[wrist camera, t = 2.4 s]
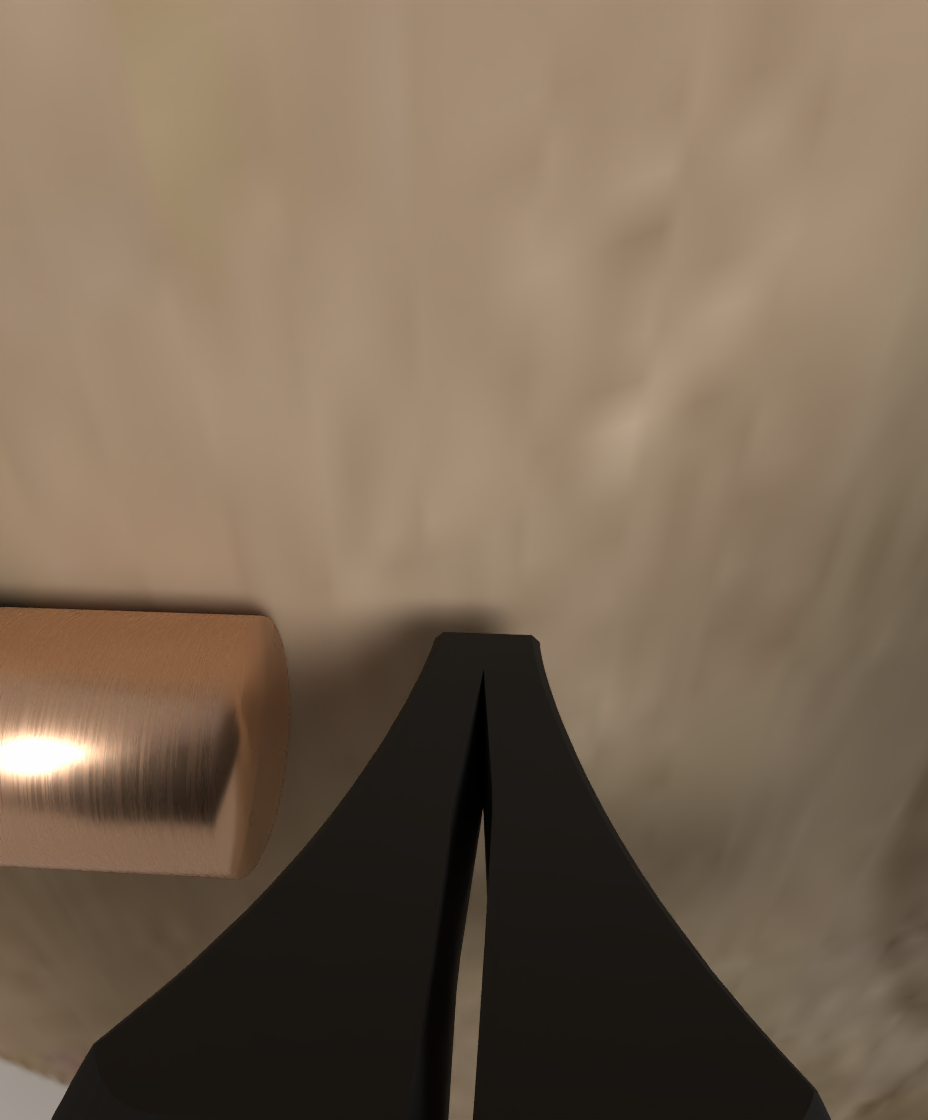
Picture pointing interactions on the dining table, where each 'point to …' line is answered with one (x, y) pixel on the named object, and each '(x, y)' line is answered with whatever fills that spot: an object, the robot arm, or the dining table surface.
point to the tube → (140, 740)
